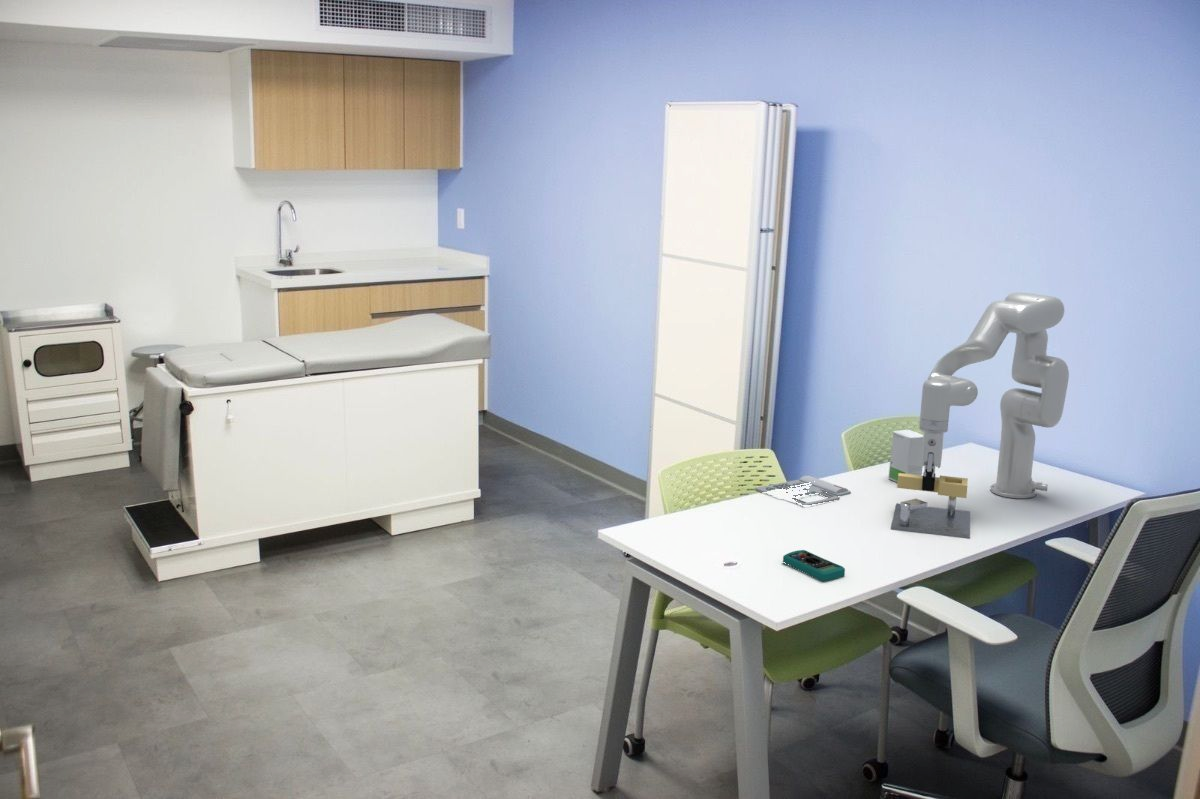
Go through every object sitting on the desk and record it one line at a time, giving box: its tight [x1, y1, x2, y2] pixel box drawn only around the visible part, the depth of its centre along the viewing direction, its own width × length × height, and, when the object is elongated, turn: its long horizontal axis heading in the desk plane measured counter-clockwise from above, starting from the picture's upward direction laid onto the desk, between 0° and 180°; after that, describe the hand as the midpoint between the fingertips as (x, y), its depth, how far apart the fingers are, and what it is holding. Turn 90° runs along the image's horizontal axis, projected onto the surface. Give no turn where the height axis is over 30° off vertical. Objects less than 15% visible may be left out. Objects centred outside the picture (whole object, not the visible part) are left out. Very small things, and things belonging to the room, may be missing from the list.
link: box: [896, 473, 969, 499], centre depth 291 cm, size 18×7×4 cm, turn 71°
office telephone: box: [754, 475, 852, 505], centre depth 311 cm, size 23×3×20 cm
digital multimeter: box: [782, 549, 846, 582], centre depth 253 cm, size 7×15×3 cm, turn 33°
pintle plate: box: [890, 496, 971, 539], centre depth 286 cm, size 20×20×7 cm
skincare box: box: [887, 429, 924, 483], centre depth 321 cm, size 8×7×16 cm
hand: (928, 488), depth 291 cm, fingers closed on link, 3 cm apart
